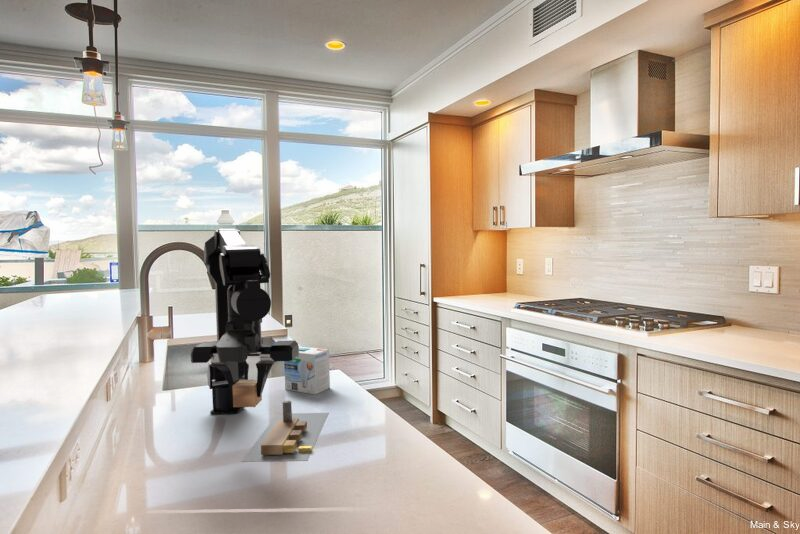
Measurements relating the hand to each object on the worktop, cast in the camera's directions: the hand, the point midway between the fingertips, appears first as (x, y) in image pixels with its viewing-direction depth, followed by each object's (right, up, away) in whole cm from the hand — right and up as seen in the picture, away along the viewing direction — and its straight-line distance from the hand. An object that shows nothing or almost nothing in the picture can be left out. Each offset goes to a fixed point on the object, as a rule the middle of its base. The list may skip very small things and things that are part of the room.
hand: (247, 396), depth 95 cm
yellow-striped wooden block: (0, -1, 0) cm, 1 cm away
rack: (+6, -10, +6) cm, 13 cm away
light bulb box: (+3, -9, +43) cm, 44 cm away
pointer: (+11, -11, +1) cm, 15 cm away
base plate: (+6, -11, +10) cm, 15 cm away
